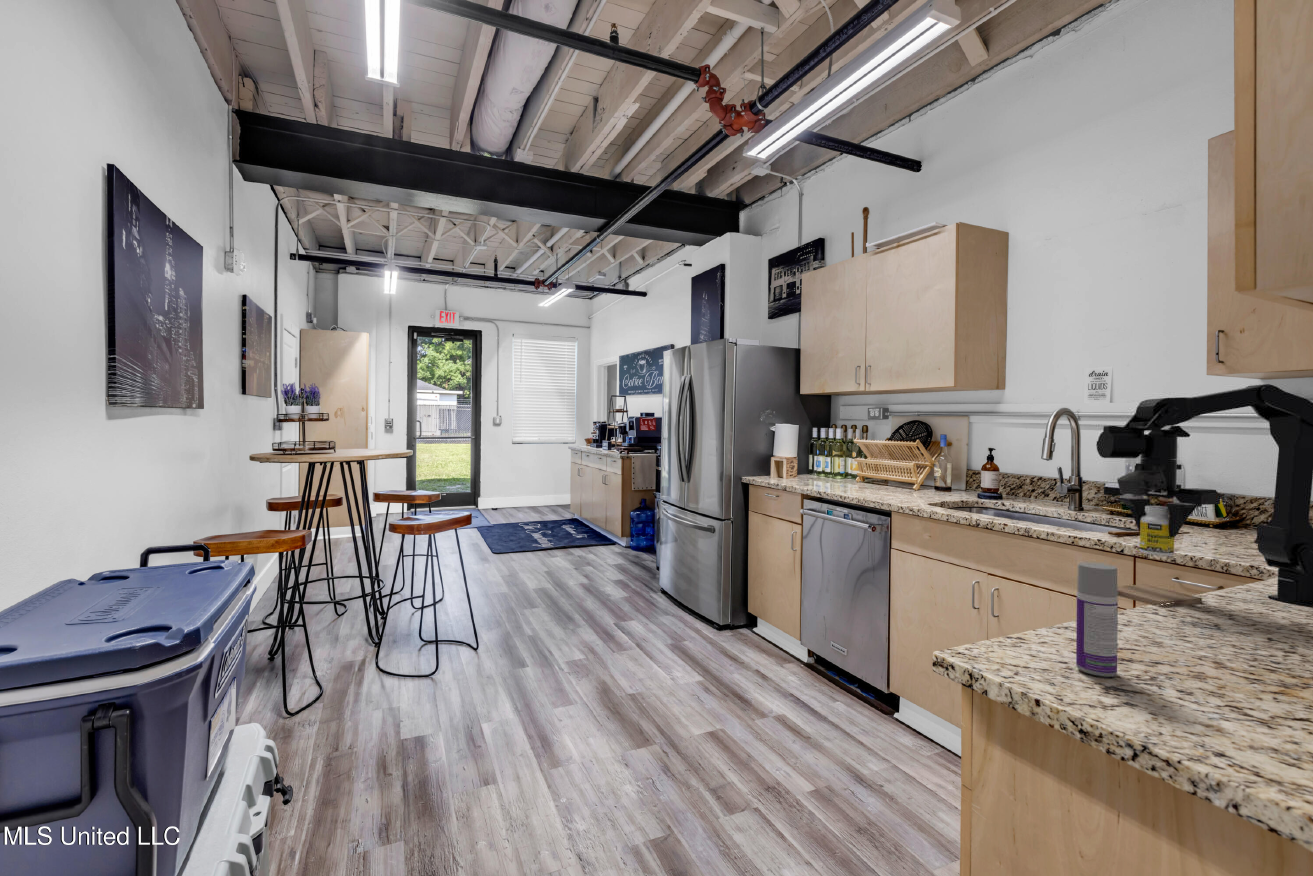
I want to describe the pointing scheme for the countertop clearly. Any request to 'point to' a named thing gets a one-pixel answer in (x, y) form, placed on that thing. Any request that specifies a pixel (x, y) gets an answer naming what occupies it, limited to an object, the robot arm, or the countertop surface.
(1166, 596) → the riser
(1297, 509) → the robot arm
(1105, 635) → the container
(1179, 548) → the countertop surface
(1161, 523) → the supplement bottle
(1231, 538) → the countertop surface
